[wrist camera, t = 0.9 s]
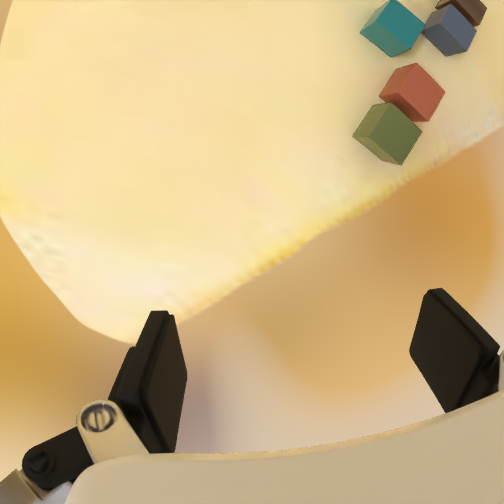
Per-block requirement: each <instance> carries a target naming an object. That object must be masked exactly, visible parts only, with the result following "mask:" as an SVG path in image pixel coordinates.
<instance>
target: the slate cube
mask: <svg viewBox="0 0 504 504" xmlns="http://www.w3.org/2000/svg"><path fill="white" fill-rule="evenodd" d="M421 33H422V34H423V35H424V36H425V37H427V38H428V39H429V40H430V41H431V42H432V43H433V44H434V45H435V46H436V47H437V48H438V49H439V50H440V51H441V52H442V53H443V54H444V55H445V56H449V55H453V54H457V53H461V52H466V51H467V50H468V48H469V46H470V44H471V42H472V40H473V38H474V35H475V33H476V29H475V28H474V27H473V26H472V25H471V24H470V23H469V22H468V20H467V19H466V18H465V17H464V16H463V15H462V14H461V13H460V12H459V11H458V10H457V9H456V8H455V7H454V6H453V5H452V4H450V5H448V6H445V7H443V8H441V9H439V10H437V11H435V12H433V13H432V14H431V15H430V17H429V19H428V20H427V22H426V23H425V27H424V28H423V30H422V32H421Z"/></svg>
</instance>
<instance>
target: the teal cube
mask: <svg viewBox="0 0 504 504" xmlns="http://www.w3.org/2000/svg"><path fill="white" fill-rule="evenodd" d="M424 27H425V24H424V23H423V22H421V21H420V20H419V19H418V18H417V17H416V16H415V15H414V14H412V13H411V12H410V11H409V10H408V9H406V8H405V7H404V6H403V5H402V4H400V3H399V2H398V1H397V0H389V1H387V2H386V3H385V4H384V5H382V6H381V7H380V8H378V9H377V10H376V11H375V13H374V14H373V15H372V17H371V18H370V19H369V21H368V22H367V23H366V25H365V26H364V27H363V29H362V30H361V31H360V33H361V34H362V35H363V36H365V37H366V38H367V39H369V40H370V41H371V42H372V43H374V44H375V45H376V46H378V47H379V48H380V49H381V50H383V51H384V52H385V53H386V54H387V55H389V56H390V57H393V56H396V55H398V54H400V53H403V52H405V51H408V50H410V49H411V47H412V46H413V44H414V43H415V41H416V39H417V38H418V36H419V35H420V33H421V32H422V30H423V28H424Z"/></svg>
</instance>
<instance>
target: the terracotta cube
mask: <svg viewBox="0 0 504 504" xmlns="http://www.w3.org/2000/svg"><path fill="white" fill-rule="evenodd" d="M444 93H445V91H444V90H443V89H442V88H441V87H440V86H439V85H438V84H437V83H436V82H435V81H434V80H433V79H432V77H431V76H430V75H429V74H428V73H426V72H425V71H424V70H423V69H422V68H421V67H420V66H419V65H418V64H417V63H414V64H410V65H407V66H404V67H401V68H398V69H396V71H395V72H394V74H393V75H392V77H391V78H390V80H389V81H388V83H387V84H386V86H385V87H384V89H383V91H382V92H381V94H380V95H379V97H380V98H382V99H383V100H384V101H385V102H386V103H392V104H394V105H395V106H396V107H397V108H398V109H399V110H400V111H401V112H402V113H403V114H405V115H406V116H407V117H408V118H409V119H410V120H411V121H422V122H428V121H429V120H430V118H431V116H432V114H433V113H434V111H435V109H436V107H437V106H438V104H439V102H440V100H441V99H442V97H443V95H444Z"/></svg>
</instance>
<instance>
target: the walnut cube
mask: <svg viewBox="0 0 504 504" xmlns="http://www.w3.org/2000/svg"><path fill="white" fill-rule="evenodd" d="M450 4H452V5H453V6H454V7H455V8H456V9H457V10H458V11H459V12H460V13H461V14H462V15H463V16H464V17H465V18H466V19H467V20H468V22H469V23H470V24H471V25H472V26H473V27H475V26H478V25H480V23H481V21H482V18H483V16H484V14H485V12H486V9H487V8H486V6H485V5H484V4H483V3H482V2H481V1H480V0H440V1H439V2H438V4H437V6H436V7H435V8H436V9H437V10H439V9H441V8H443V7H445V6H448V5H450Z"/></svg>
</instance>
